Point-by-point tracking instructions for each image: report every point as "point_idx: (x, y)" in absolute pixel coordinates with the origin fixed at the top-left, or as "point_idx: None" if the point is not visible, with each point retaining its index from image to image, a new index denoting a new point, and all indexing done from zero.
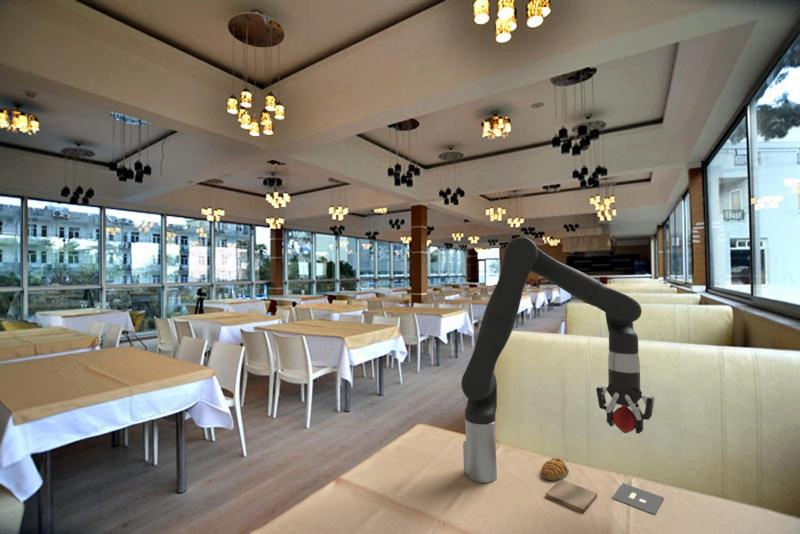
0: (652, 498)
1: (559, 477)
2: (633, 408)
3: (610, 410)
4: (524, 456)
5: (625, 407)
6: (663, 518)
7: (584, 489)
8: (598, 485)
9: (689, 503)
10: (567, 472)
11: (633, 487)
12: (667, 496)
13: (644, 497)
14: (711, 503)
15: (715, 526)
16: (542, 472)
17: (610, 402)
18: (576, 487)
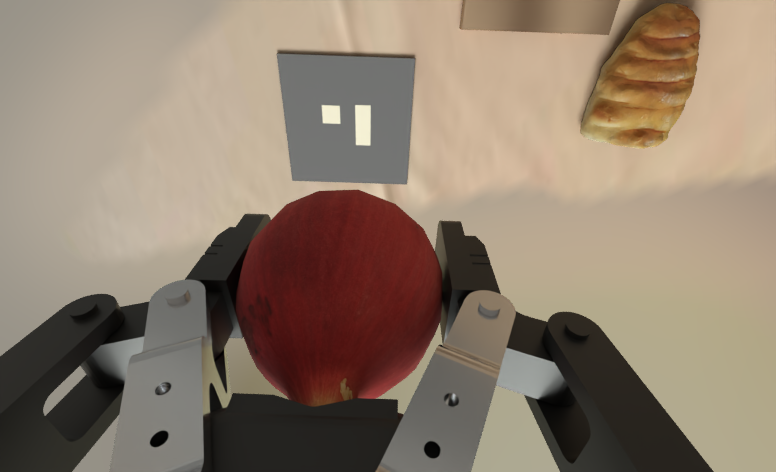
0: (314, 151)
1: (613, 53)
2: (161, 369)
3: (467, 311)
4: (758, 139)
5: (302, 384)
6: (253, 52)
7: (509, 19)
8: (470, 117)
9: (238, 197)
10: (584, 120)
11: (374, 178)
12: (290, 195)
13: (333, 140)
14: (204, 233)
15: (147, 120)
16: (696, 16)
17: (482, 393)
18: (541, 10)
